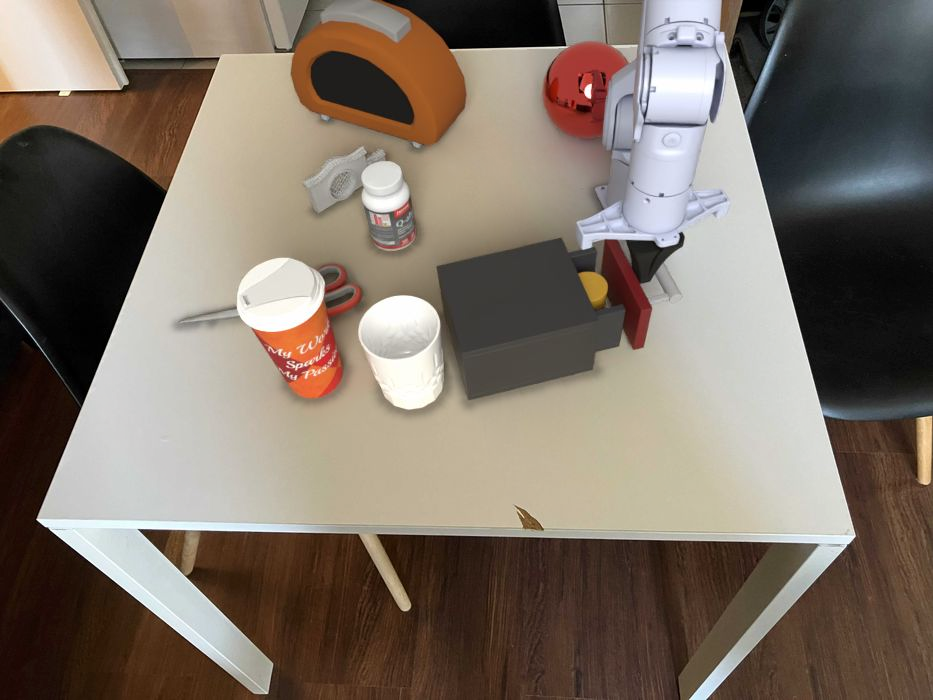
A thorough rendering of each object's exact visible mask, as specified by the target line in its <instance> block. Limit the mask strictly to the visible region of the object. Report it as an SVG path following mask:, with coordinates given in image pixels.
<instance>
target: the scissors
mask: <svg viewBox="0 0 933 700" xmlns="http://www.w3.org/2000/svg"><path fill="white" fill-rule="evenodd" d="M316 270H317V271H318V272H319V273H320V275H321V276H322V277H324V276H326V275H328V274H332V273H333V274H338V277H337V278H336V279H335V280H334V281H332V282H331V283H329V284H328V283H327V284H325V287H324V301H325V303H329V302H331V301H334V300H337V299H339V298H341V297H343V296H345V295H348V294H350V293H353V294H352V296H351V298H349V299H348V300H346V301H344V302H342V303H340V304H337V305H334V306H333V307H329V308H327V312H328V315H329V319H331V318H333V317H336V316H339V315H341V314H344V313H346V312H348V311H350V310H351V309H353V308H355V307H356V306H357V305H359V303H360V301H361V299H362V296H363V295H362V293H363V292H362V289H361V288H360V287H359V286H358V285H357V284H355V283H347V284H346V281H347V278H348V275H347V274H348V273H347V270H345V268H344V267H343V266H341V265H339V264H335V263H329V264H325V265H323V266H321V267H319V268H318V269H316ZM239 317H240V315H239V313H238V310H237V307H235V308H232V309H227V310H222V311H218V312H217V311H216V312H211V313H207V314H202V315H198V316H197V315H196V316H192V317H187V318H184V319H183V320H180V321H178V323H179V324H182V323H194V322H205V321H213V320H214V321H215V320H222V319H230V318H239Z"/></svg>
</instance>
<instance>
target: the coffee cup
mask: <svg viewBox="0 0 933 700" xmlns="http://www.w3.org/2000/svg"><path fill="white" fill-rule="evenodd" d="M317 270H318V269H315V268H313V267H311V266H309V265H308V264H306V263H304V262H303V261H300V260H297V259H295V258H291V257H277V258H272V259H268V260H266V261H262V262H261V263H259V264H257V265H256V266H254V267H253V268H251V269H250V270H249V271H247V273H246V274H245V275H244V277H243V278H242V279H241V281H240V283H239V285H238V289H237V299H236V308H237V310H238V313H239V315H240V316H239V317H240V319H241V320H242V321H243V322H244V324H246V325H247V326H249V327H250V328H251V330H252V332H253V334H254V335H255V338H257V340H258V341H259V343H260V344H261V346H262V347H263V349H264V350H265V352H266V353H267V354H268V356H269V357H270V359H271V361H272V362H273V364H274V365H275V367H276V369H277V370H278V371H279V373H280V374H281V376H282V377H283V379H284V381H285V382H286V383H287V385H288V386H289V388H290V389H291V390H292V391H293V392H294V393H295V394H296V395H298V397H302V398H305V399H318V398H323V397H324V396H326V395H329V394H330V393H332V392H333V391H334V390H335V389H336V388H337V387H338V386H339V385H340V382H341V380H342V378H343V365H342V360H341V356H340V353H339V352H340V351H339V348H338V344H337V340H336V336H335V334H334V329H333V326H332V323H331V318H329V315H328V312H327V309H328V308H327V305H326V304H327V303H326V302H325V301H324V287H325V286H326V282H325V279H324V278H323V277H324V276H321V275H320V273H319V272H318V271H317Z"/></svg>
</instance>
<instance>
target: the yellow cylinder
mask: <svg viewBox="0 0 933 700" xmlns="http://www.w3.org/2000/svg"><path fill="white" fill-rule="evenodd" d="M578 275H579V277H580V279H581V281H582V284H583V286H584V288H585V290H586V293H587V295H588V297H589V299H590V301H591V304H592V306H593V308H594V310H595V311H596V310H600V309H604V308H606V305H607V298H608V295H607V291H608V284H607V282H606V280H605V279H604V278H603V277H602V276H601V275H600V273H598V272H595V273H594V272H581V273H578Z"/></svg>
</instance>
